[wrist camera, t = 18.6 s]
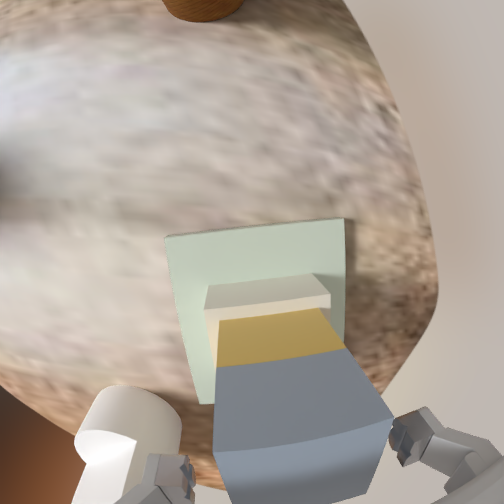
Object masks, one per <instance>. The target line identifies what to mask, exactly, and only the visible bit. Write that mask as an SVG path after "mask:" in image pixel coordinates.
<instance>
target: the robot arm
mask: <svg viewBox="0 0 504 504" xmlns="http://www.w3.org/2000/svg"><path fill="white" fill-rule="evenodd" d="M392 425H393V428H392V429H391V430H390V433H389V436H388V438H389V444H390V446H391V448H392V450H394V451H397V452H398V453H397V458H398V460H399V462H400V464H401V465H402V467H404V466H407V465H409V464H412V463H414V462H417V461H419V460H420V461H421V462H422V463H424V464H426V465H428V466H430V467H432V468H434V469H436V470H437V471H439V472H442V473H443V474H445V475H447V476H449V477H450V479H449V480H448V481H447V483H446V484H445V486H444V489H445V491H446V492H447V494H448V495H446V496H444V497H443V498H441V499H439V500H437V501H435V502H434V503H432V504H504V456H502V455H501V454H500V453H499V452H498V450H497V449H496V448H495V447H494V446H493V445H492V444H491V442H490V441H489V440H487V439H483V438H480V437H476V436H473V435H470V434H466V433H463V432H460V431H457V430H454V429H451V428H444V427H443V426H442V424H441V423H440V422H439V421H438V419H437V418H436V417H435V416H434V415H433V414H432V412H431V411H430V410H429V409H428V407H422V408H420V409H418V410H415V411H412V412H409V413H407V414H405V415H402V416H399V417H397V418H395V419H394V420H393V423H392ZM189 463H190V459H189V457H188V455H171V454H153V453H149V455H148V456H147V460H146V464H145V468H144V472H143V477H142V481H141V484H137V485H136V486H134V487H133V488H132V489H131V490H130V491H128V492H127V493H126V494H125V495H124V496H122V497H121V498H120V499H119V500H117V501H116V502H115V503H114V504H194V502H195V493H194V491H193V489H192V488H193V487H194V486H195V485H196V476H195V470H194V467H193V465H191V464H189Z"/></svg>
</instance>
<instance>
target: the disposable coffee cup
mask: <svg viewBox="0 0 504 504" xmlns="http://www.w3.org/2000/svg"><path fill="white" fill-rule="evenodd" d="M162 1H163V2H164V4H165V6H166V7H167V9H168V11H169V12H170V13H171V14H172V15H173V16H175V17H177V18H179V19H182V20H186V21H190V22H207V21H213V20H217V19H220V18H223V17H226V16H228V15H230V14H231V13H233V12H234V11H236V10H237V9H238V8H239V7H240V6H241V5H242V3H243V1H244V0H162Z"/></svg>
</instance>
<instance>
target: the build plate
mask: <svg viewBox="0 0 504 504" xmlns="http://www.w3.org/2000/svg"><path fill="white" fill-rule="evenodd" d="M164 242H165V248H166V254H167V260H168V266H169V272H170V278H171V283H172V289H173V294H174V299H175V304H176V309H177V314H178V318H179V323H180V328H181V332H182V337H183V341H184V345H185V350H186V354H187V358H188V362H189V366H190V370H191V374H192V378H193V381H194V385H195V389H196V392H197V396H198V399H199V403H200V404H214V401H215V381H216V373H215V368H214V363H213V358H212V353H211V348H210V343H209V337H208V332H207V327H206V321H205V315H204V305H205V300H206V295H207V290H208V285H217V284H226V283H235V282H244V281H252V280H261V279H269V278H277V277H286V276H293V275H301V274H309V273H312V274H313V275H314V276H315V277H316V278H317V280H318V281H319V282H320V283H321V284H322V285H323V286H324V287H325V288H326V289H327V290H328V291H329V293H330V294H331V319H330V325H331V326H332V328H333V329H334V331H335V332H336V333H337V335H338V336H339V338H340V339H341V341H342V342H343V343H344V327H345V230H344V219H343V218H340V217H335V218H324V219H313V220H302V221H292V222H282V223H272V224H262V225H253V226H244V227H235V228H226V229H217V230H208V231H200V232H192V233H184V234H175V235H168V236H166V237H165V238H164Z"/></svg>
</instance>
